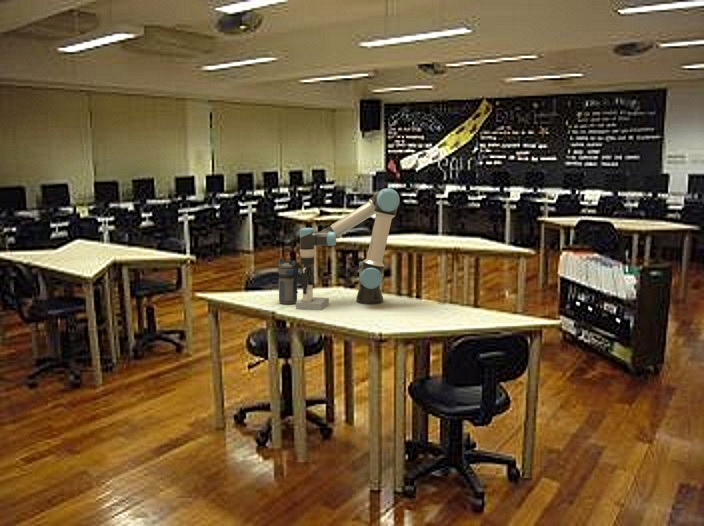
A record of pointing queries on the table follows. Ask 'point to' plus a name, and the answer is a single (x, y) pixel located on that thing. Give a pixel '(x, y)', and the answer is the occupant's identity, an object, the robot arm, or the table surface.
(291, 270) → the beverage bottle
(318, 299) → the grey block with hole
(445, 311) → the table surface
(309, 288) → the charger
